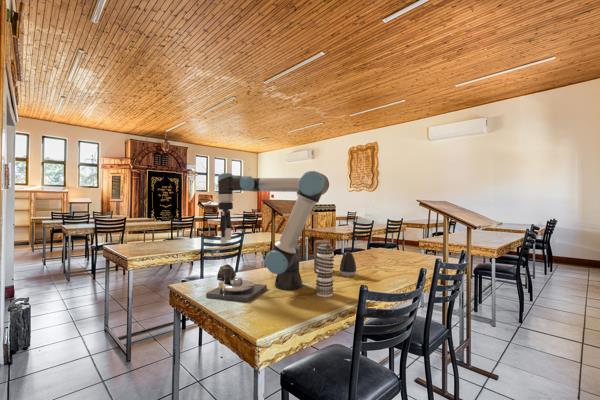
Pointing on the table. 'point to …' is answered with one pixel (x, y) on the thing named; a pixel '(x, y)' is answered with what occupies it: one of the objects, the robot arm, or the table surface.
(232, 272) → the fossil
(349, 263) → the dark grey tapered dome
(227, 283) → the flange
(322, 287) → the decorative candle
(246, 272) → the table surface
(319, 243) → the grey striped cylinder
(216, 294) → the clock base
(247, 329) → the table surface
